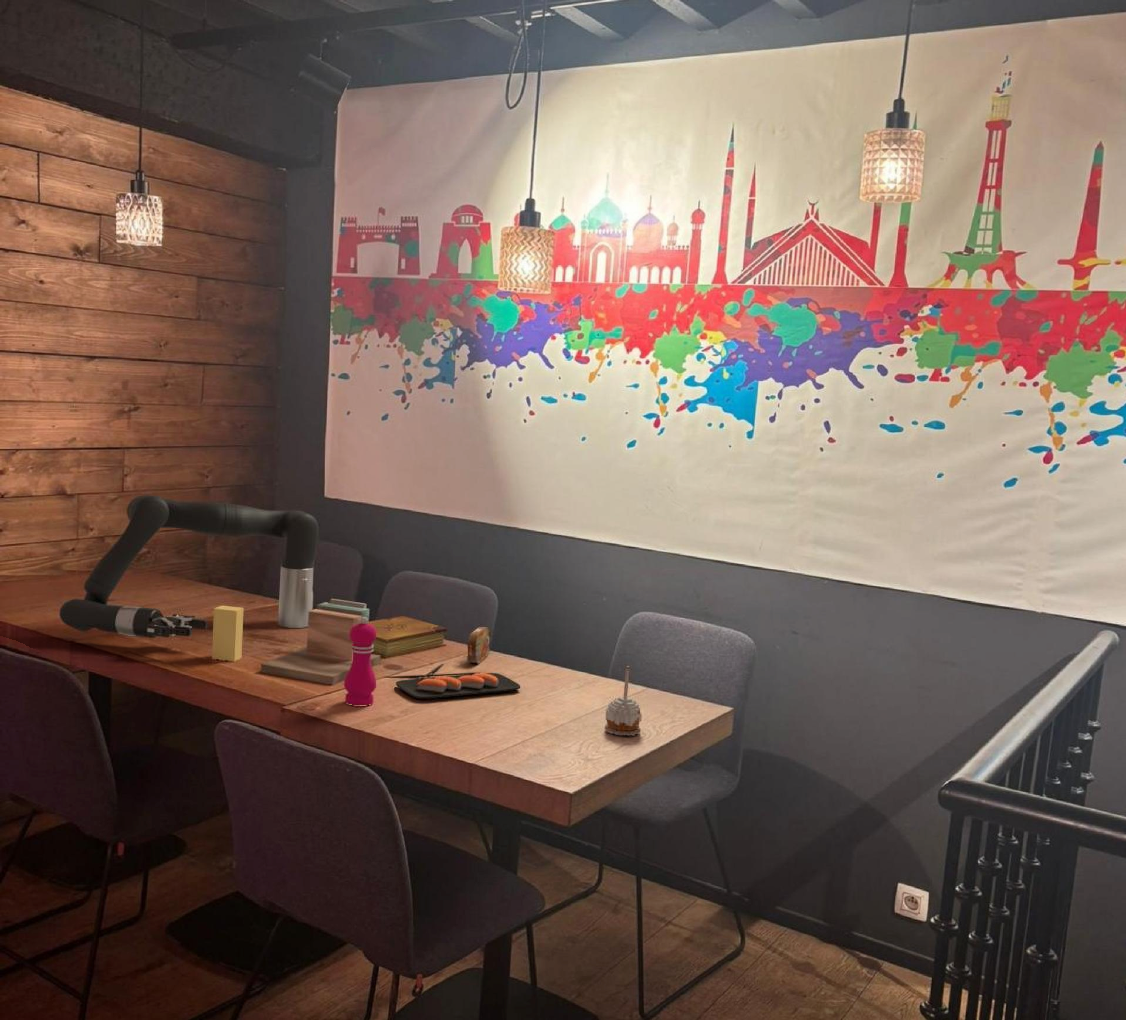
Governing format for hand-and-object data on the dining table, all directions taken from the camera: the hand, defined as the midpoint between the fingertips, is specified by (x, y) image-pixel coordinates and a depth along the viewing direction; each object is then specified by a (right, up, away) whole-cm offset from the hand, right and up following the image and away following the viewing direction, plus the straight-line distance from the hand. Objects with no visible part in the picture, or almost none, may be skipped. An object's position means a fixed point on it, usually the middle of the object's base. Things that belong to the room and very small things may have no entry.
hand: (198, 628), depth 275 cm
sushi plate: (+63, -13, -5) cm, 65 cm away
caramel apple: (+106, -20, -35) cm, 113 cm away
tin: (+70, -11, +17) cm, 73 cm away
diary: (+45, -8, +26) cm, 53 cm away
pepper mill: (+46, -14, -28) cm, 56 cm away
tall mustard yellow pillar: (+7, -8, 0) cm, 11 cm away
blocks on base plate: (+32, -10, -2) cm, 33 cm away
